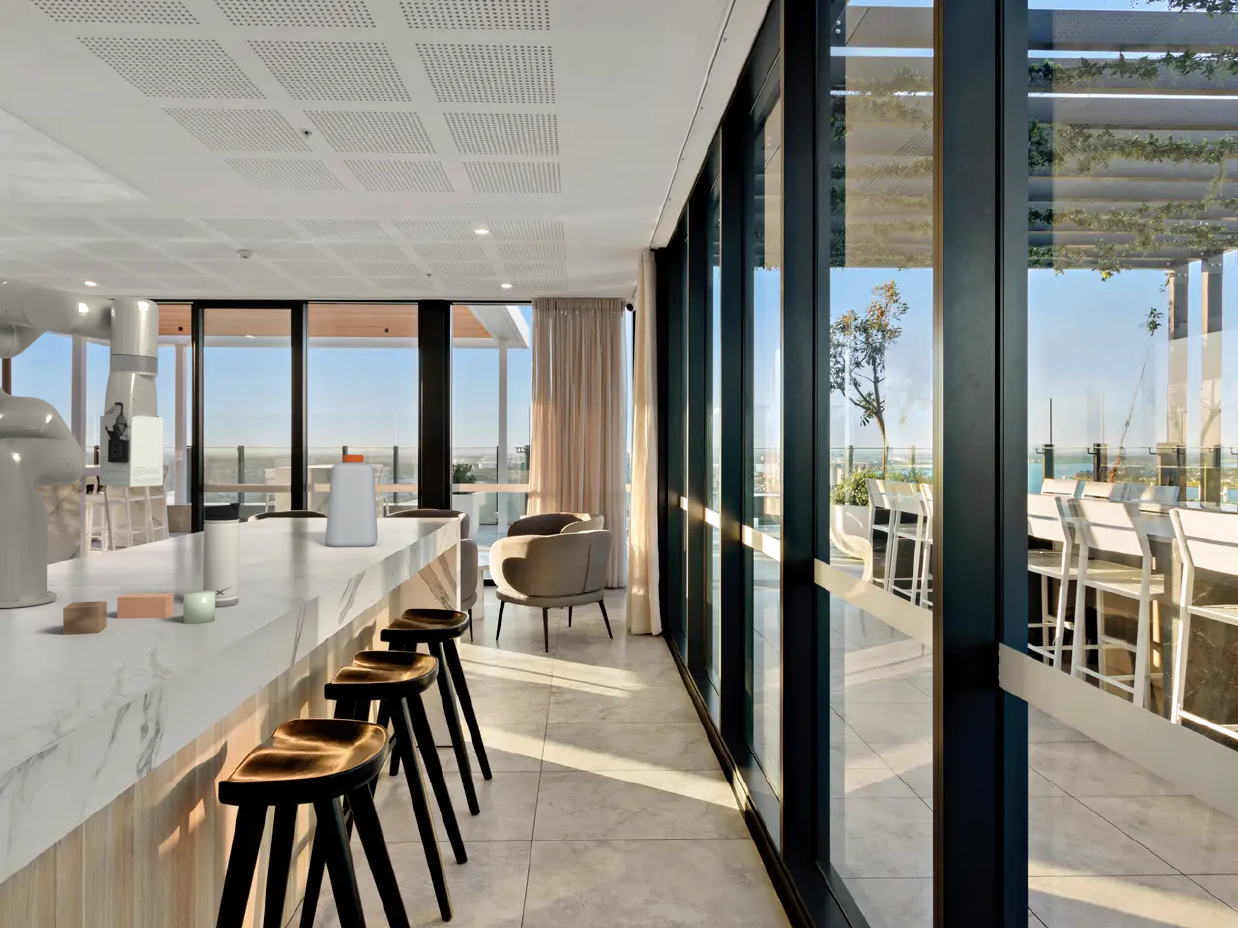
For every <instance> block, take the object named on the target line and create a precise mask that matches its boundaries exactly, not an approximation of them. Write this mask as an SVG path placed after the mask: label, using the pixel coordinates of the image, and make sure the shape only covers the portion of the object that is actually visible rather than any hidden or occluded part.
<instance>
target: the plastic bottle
mask: <svg viewBox="0 0 1238 928" xmlns="http://www.w3.org/2000/svg"><path fill="white" fill-rule="evenodd" d="M376 497H377V496H376V481H375V467H374V465H373V464H371V463H365V461H364V455H363V454H344V455H343V456H342V462H339V463H335V464H333V465H332V467H331V471H330V485H329V494H328V507H327V518H326V529H325V545H326V546H329V547H332V548H351V547H352V548H354V547H356V548H363V547H364V548H366V547H368V548H369V547H373V546H376V544H377V542H378V538H379V537H378V536H379V535H378V520H377V519H378V518H377V517H378V516H377V499H376Z"/></svg>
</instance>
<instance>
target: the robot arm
mask: <svg viewBox="0 0 1238 928" xmlns="http://www.w3.org/2000/svg"><path fill="white" fill-rule="evenodd" d="M159 321H160V308H159V305H158V304H157V303H156V302H155V301H153V300H150V299H146V298H143V297H134V296H131V297H130V296H120V297H115V298H113V299H110V298H104V297H101V296H95V295H90V294H85V293H80V292H76V291H75V292H74V291H68V290H63V289H56V288H55V287H53V286H51V285H49V284H48V285H47V284H43V283H36V282H32V281H31V282H29V281H25V280H19V279H14V278H13V279H12V278H9V277H8V278H7V277H2V276H1V277H0V359H1V360H2V359H11V358H15V357H16V356H19V355H21V354H22V353H23V352H25V350H26V349H28V348H30V346H31V345H32V344H34V342H36V341H37V340H38V339H39V338H41V337H42V336H43V335H44V334H45V333H46V332H48V331H49V332H52V333H53V332H54V333H59V334H64V335H69V336H75V337H76V336H77V337H85V338H91V339H97V340H105V341H109V342H110V343H109V375H108V378H107V382H106V383H107V384H106V389H105V398H104V410H103V411H104V414H103V416H104V425H105V426H106V427H105V429H106V431H107V439H108V462H110V463H127V462H128V454H129V440H126V438H127V436H128V427H130V425H131V423H132V417H135V416H138V417H158V418H160V417H159V415H158V396H157V391H158V390H157V381H156V377H158V376H159V375H158V374H159V373H158V372H159V331H160V330H159V327H160V326H159V324H160V323H159ZM119 416H124V417H125V419H127V423H117V417H119ZM121 429H123V430H122V432H121ZM85 469H86V460H85V454H84V452H83V450H82V447H81V446H80V444H79V442H78V440H77V439H76V438H75V436H74V434H73V433H72V432H71V430H70V428H69V427H68V424H67V423H66V421H65V420H64V419H63V417H62V416H61V414H60V412H59V410H57V409H56V408H55V407H54V405H52V404H51V403H49V402H48V401H46V400H44V399H41V398H38V397H31V396H19V395H11V394H9V393H7V392H6V391H4V389H3V388H2V387H1V386H0V609H8V608H9V609H10V608H11V609H12V608H13V609H14V608H22V607H32V606H37V605H38V606H39V605H45V604H48V603H52V602H54V601H56V600H57V598H58V594H57V592H55V591H48V537H49V536H48V531H49V530H48V529H49V526H48V523H49V521H48V519H49V518H48V517H49V516H48V513H49V512H48V508H47V504H46V503H45V500H44V499H43V497H42V495H41V493H40V492H39V491H38V489H37V488H39V487H59V486H67V485H71V484H74V483H75V482H78V480H80V479H81V478H82V476H83V474H84V473H85Z"/></svg>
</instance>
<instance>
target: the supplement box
mask: <svg viewBox="0 0 1238 928" xmlns="http://www.w3.org/2000/svg"><path fill="white" fill-rule="evenodd" d="M158 417H159V416H158ZM158 417H138V416H135V417H132V423H131V425H130V427H128V436H127V438H126V440H129V454H128V462H127V463H110V462H108V439H107V431H106V429H105V427H106V426H105V425H104V415H100V417H99V418H100V420H99V421H100V423H99V425H100V427H99V486H109V487H110V486H111V487H127V488H128V487H129V488H130V487H131V488H133V487H134V488H135V487H137V488H138V487H157V486H158V487H160V486H163V484H164V483H163V481H164V480H163V479H164V478H163V477H164V419H165V418H164V417H159V418H158ZM117 423H127V419H125V417H124V416H119V417H117ZM122 430H123V429H121V432H122Z"/></svg>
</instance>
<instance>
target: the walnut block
mask: <svg viewBox="0 0 1238 928" xmlns="http://www.w3.org/2000/svg"><path fill="white" fill-rule="evenodd" d="M107 602H108V601H107V600H103V601H100V600H99V601H97V600H96V601H76V602H75V601H73V602H71V603H69V604H67V605H66V606H65V607H63V615H62V616H63V618H62V619H63V620H62V621H63V622H62V624H63V625H62V628H63V629H62V633H63V635H62V636H68V635H69V636H71V635H91V634H92V635H93V634H99V633H101V632H102V631H103V630H104V629H106V628H107V613H108V612H107V611H108V609H107V605H108V603H107Z"/></svg>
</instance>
